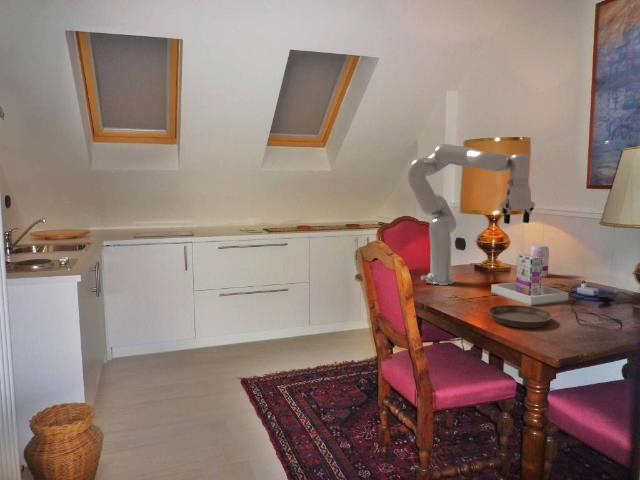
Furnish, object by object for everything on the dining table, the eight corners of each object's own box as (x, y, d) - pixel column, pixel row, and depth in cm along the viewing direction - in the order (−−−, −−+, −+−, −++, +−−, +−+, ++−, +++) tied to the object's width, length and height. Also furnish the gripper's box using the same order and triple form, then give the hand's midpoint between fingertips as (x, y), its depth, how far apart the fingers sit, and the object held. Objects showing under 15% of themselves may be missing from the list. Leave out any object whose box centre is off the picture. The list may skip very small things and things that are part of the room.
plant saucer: (553, 317, 182) (554, 308, 182) (549, 333, 164) (549, 323, 164) (493, 310, 192) (493, 302, 192) (483, 325, 174) (483, 316, 174)
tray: (530, 306, 197) (531, 297, 196) (491, 292, 219) (491, 284, 219) (567, 301, 202) (568, 292, 202) (525, 288, 225) (525, 280, 224)
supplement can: (544, 274, 255) (545, 244, 253) (550, 277, 247) (551, 246, 245) (527, 274, 256) (528, 244, 254) (532, 277, 248) (533, 246, 246)
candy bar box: (541, 298, 206) (542, 258, 204) (529, 298, 205) (531, 258, 203) (526, 291, 217) (527, 253, 215) (515, 292, 216) (516, 254, 214)
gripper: (506, 183, 212) (504, 224, 214) (541, 183, 217) (539, 223, 219) (495, 183, 219) (493, 222, 221) (529, 182, 224) (527, 221, 226)
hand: (516, 223), depth 220 cm, fingers open, 9 cm apart
